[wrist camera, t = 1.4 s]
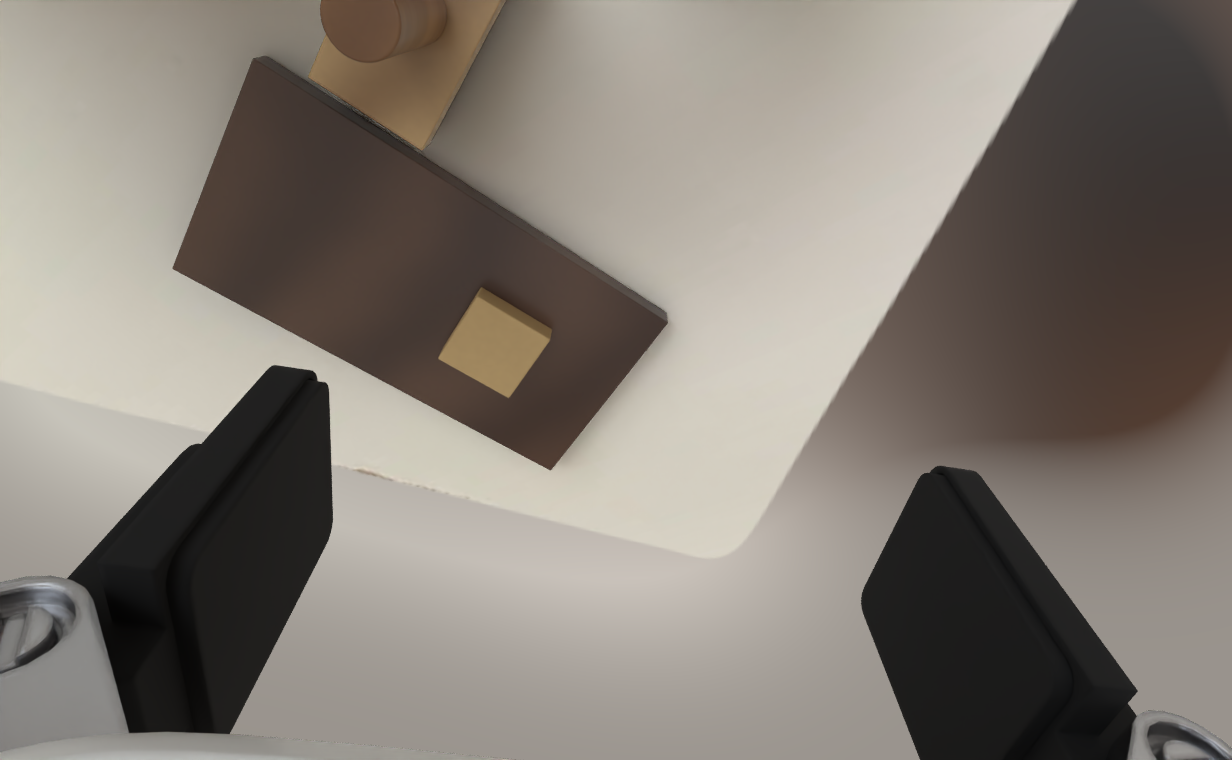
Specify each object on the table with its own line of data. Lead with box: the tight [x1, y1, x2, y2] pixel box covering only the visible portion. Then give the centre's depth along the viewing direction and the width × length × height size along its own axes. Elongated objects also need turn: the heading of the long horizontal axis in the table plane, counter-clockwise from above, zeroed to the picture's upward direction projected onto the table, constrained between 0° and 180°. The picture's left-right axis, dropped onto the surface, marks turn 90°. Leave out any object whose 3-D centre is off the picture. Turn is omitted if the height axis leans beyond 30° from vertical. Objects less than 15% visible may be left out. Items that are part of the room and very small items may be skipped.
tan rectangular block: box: [438, 287, 552, 398], centre depth 34 cm, size 4×4×1 cm
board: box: [173, 56, 668, 470], centre depth 34 cm, size 21×11×1 cm, turn 56°
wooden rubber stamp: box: [308, 0, 506, 150], centre depth 25 cm, size 5×9×9 cm, turn 146°
